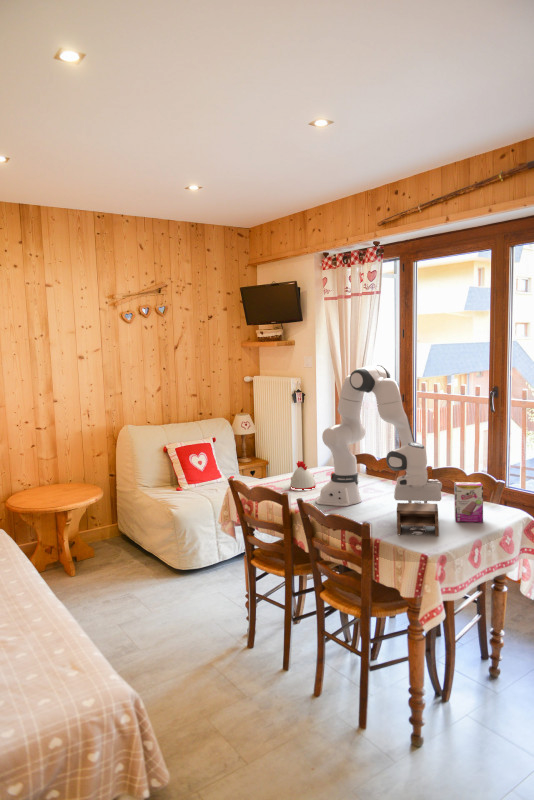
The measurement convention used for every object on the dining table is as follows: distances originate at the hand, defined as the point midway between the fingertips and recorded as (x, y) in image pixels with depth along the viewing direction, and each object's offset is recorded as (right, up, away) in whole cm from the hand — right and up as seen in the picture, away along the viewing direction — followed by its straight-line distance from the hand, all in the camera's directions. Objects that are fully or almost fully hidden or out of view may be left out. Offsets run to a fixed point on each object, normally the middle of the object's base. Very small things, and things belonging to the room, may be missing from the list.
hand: (418, 510), depth 241 cm
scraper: (-2, -3, -7) cm, 8 cm away
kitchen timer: (-47, 0, +59) cm, 75 cm away
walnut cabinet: (-5, -5, -18) cm, 20 cm away
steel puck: (-5, -5, -19) cm, 21 cm away
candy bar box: (+19, -3, -10) cm, 22 cm away
